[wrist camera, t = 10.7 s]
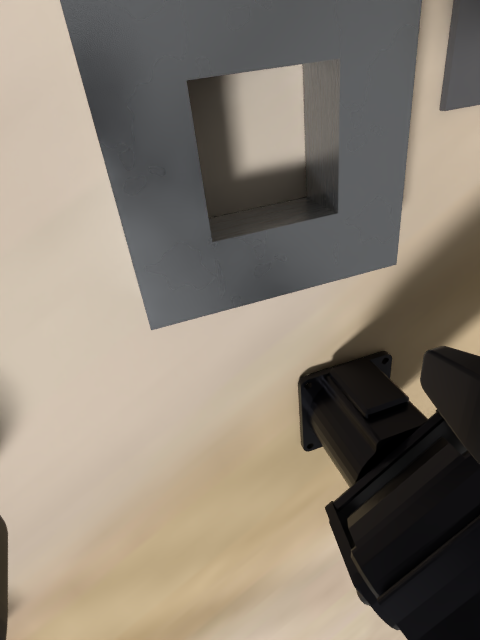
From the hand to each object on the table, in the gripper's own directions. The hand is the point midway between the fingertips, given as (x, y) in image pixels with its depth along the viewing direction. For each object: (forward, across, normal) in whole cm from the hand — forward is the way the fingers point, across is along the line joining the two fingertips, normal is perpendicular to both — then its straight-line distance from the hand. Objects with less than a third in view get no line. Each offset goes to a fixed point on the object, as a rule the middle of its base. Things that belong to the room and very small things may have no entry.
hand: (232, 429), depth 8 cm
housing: (+12, -5, -3) cm, 14 cm away
